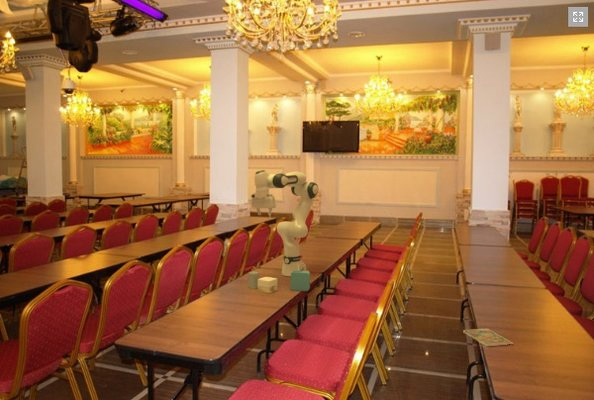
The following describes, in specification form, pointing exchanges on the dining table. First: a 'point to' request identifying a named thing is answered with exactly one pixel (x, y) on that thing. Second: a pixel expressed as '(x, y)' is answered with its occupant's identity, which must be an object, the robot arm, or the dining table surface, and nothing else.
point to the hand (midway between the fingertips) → (264, 214)
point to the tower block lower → (267, 289)
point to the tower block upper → (267, 282)
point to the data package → (300, 280)
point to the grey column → (253, 280)
